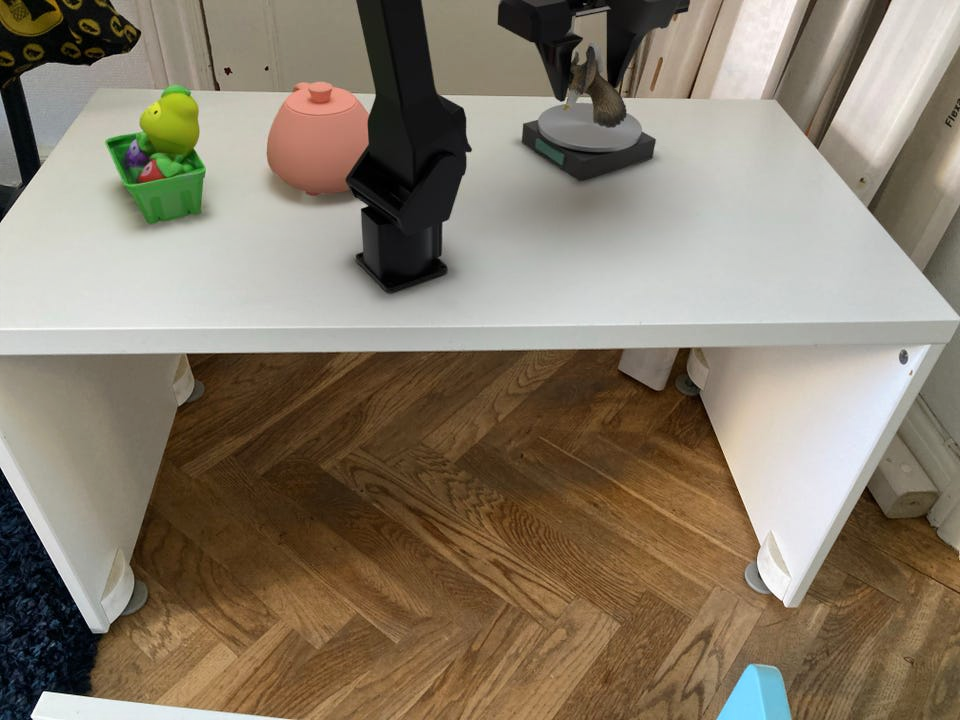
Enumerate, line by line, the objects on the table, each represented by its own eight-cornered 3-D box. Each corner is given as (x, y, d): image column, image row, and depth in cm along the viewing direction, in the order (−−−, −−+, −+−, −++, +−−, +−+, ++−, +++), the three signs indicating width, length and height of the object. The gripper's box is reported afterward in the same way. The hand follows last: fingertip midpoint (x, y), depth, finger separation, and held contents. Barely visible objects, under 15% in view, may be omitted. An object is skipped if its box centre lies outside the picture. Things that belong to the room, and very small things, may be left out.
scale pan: (582, 161, 89) (583, 156, 88) (517, 120, 96) (517, 115, 96) (662, 137, 94) (663, 132, 94) (595, 100, 102) (595, 95, 101)
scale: (578, 181, 91) (580, 161, 89) (519, 143, 98) (520, 123, 96) (652, 158, 96) (656, 139, 94) (591, 123, 103) (594, 104, 101)
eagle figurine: (521, 88, 82) (568, 106, 75) (554, 19, 80) (606, 32, 73) (575, 120, 86) (625, 140, 79) (608, 55, 85) (661, 70, 78)
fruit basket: (114, 183, 86) (85, 77, 79) (199, 166, 90) (178, 64, 83) (138, 234, 79) (108, 123, 72) (229, 214, 83) (209, 106, 75)
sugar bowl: (291, 215, 83) (279, 119, 76) (251, 157, 92) (237, 66, 86) (402, 190, 88) (400, 98, 81) (353, 137, 97) (348, 50, 90)
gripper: (582, -46, 61) (562, 147, 72) (753, -73, 70) (713, 104, 80) (498, -79, 68) (490, 101, 79) (662, -101, 77) (636, 65, 87)
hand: (586, 93), depth 81 cm, fingers closed on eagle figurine, 6 cm apart
